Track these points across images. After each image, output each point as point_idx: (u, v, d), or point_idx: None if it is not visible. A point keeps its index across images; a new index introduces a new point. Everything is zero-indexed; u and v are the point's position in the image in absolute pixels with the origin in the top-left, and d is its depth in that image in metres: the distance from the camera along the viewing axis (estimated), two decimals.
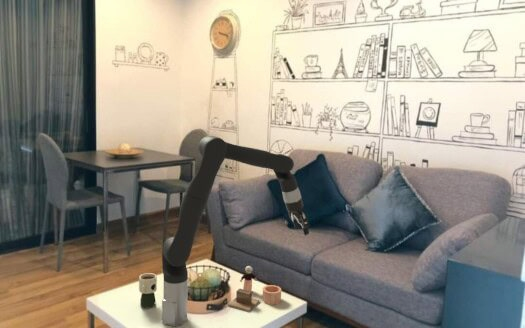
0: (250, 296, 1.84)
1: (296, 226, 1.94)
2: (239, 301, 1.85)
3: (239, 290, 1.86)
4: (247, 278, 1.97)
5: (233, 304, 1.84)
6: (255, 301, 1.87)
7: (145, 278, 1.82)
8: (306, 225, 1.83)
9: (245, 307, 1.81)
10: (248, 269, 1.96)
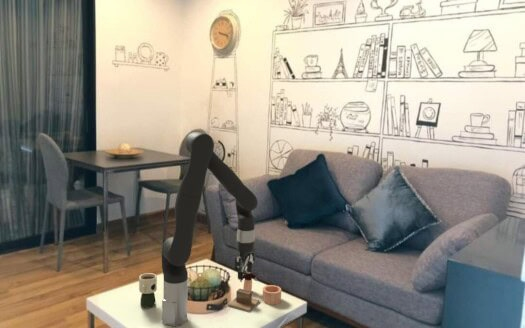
0: (250, 296, 1.84)
1: (248, 269, 1.88)
2: (239, 301, 1.85)
3: (239, 290, 1.86)
4: (247, 278, 1.97)
5: (233, 304, 1.84)
6: (255, 301, 1.87)
7: (145, 278, 1.82)
8: (237, 269, 1.77)
9: (245, 307, 1.81)
10: None
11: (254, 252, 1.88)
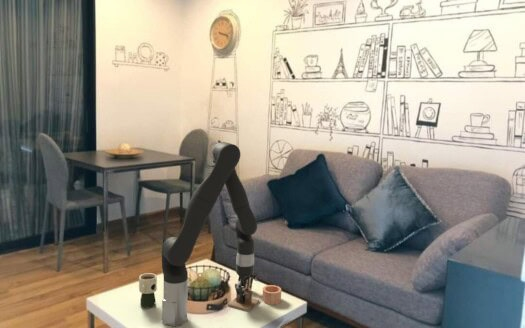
0: (250, 296, 1.84)
1: None
2: (239, 301, 1.85)
3: None
4: None
5: (233, 304, 1.84)
6: (255, 301, 1.87)
7: (145, 278, 1.82)
8: (239, 293, 1.81)
9: (245, 307, 1.81)
10: None
11: (252, 278, 1.89)
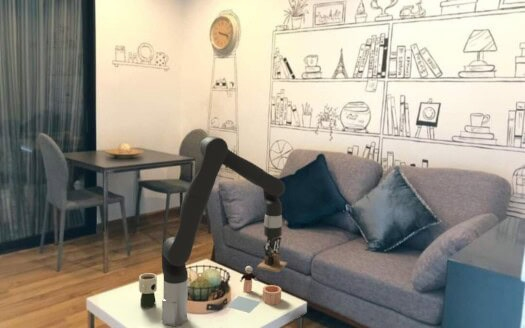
0: (278, 258, 1.86)
1: None
2: (267, 263, 1.87)
3: None
4: (247, 278, 1.97)
5: (262, 266, 1.86)
6: (283, 263, 1.89)
7: (145, 278, 1.82)
8: (267, 254, 1.83)
9: (274, 268, 1.83)
10: (248, 269, 1.96)
11: (279, 241, 1.91)
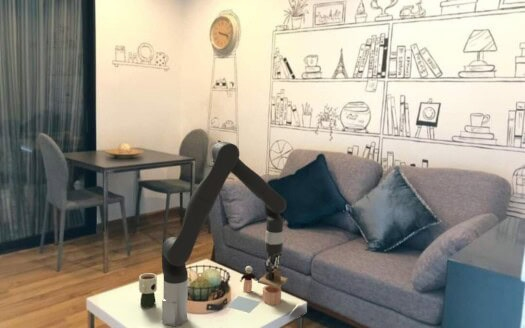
0: (280, 273, 1.87)
1: None
2: (268, 278, 1.88)
3: None
4: (247, 278, 1.97)
5: (263, 281, 1.87)
6: (284, 279, 1.90)
7: (145, 278, 1.82)
8: (268, 270, 1.84)
9: (275, 284, 1.84)
10: (248, 269, 1.96)
11: (280, 257, 1.92)
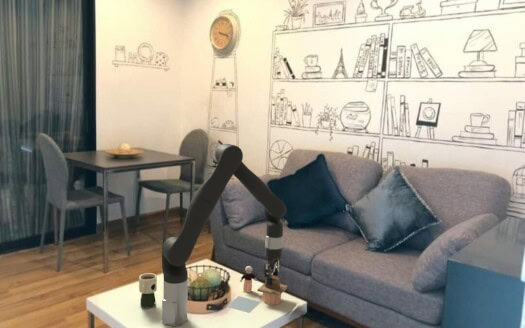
0: (279, 281, 1.88)
1: None
2: (268, 286, 1.89)
3: None
4: (247, 278, 1.97)
5: (262, 289, 1.87)
6: (284, 286, 1.91)
7: (145, 278, 1.82)
8: (266, 275, 1.83)
9: (274, 292, 1.85)
10: (248, 269, 1.96)
11: (280, 260, 1.93)
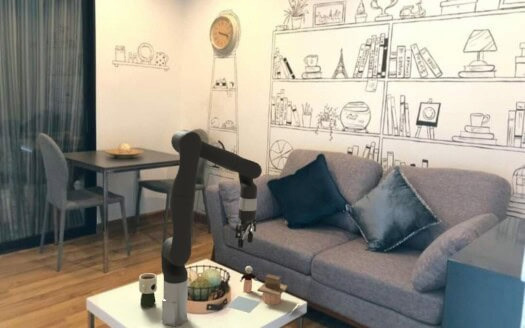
0: (279, 281, 1.88)
1: (248, 239, 1.90)
2: (268, 286, 1.89)
3: (268, 276, 1.89)
4: (247, 278, 1.97)
5: (262, 289, 1.87)
6: (284, 286, 1.91)
7: (145, 278, 1.82)
8: (237, 236, 1.79)
9: (274, 292, 1.85)
10: (248, 269, 1.96)
11: (255, 222, 1.90)
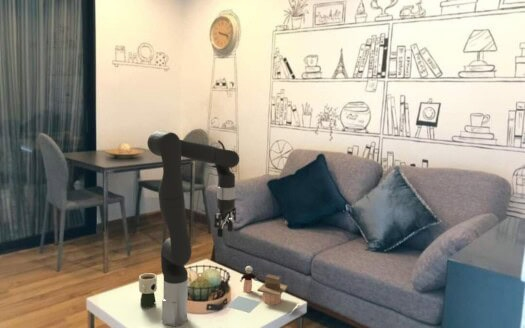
0: (279, 281, 1.88)
1: (229, 228, 1.89)
2: (268, 286, 1.89)
3: (268, 276, 1.89)
4: (247, 278, 1.97)
5: (262, 289, 1.87)
6: (284, 286, 1.91)
7: (145, 278, 1.82)
8: (216, 225, 1.79)
9: (274, 292, 1.85)
10: (248, 269, 1.96)
11: (235, 211, 1.89)
